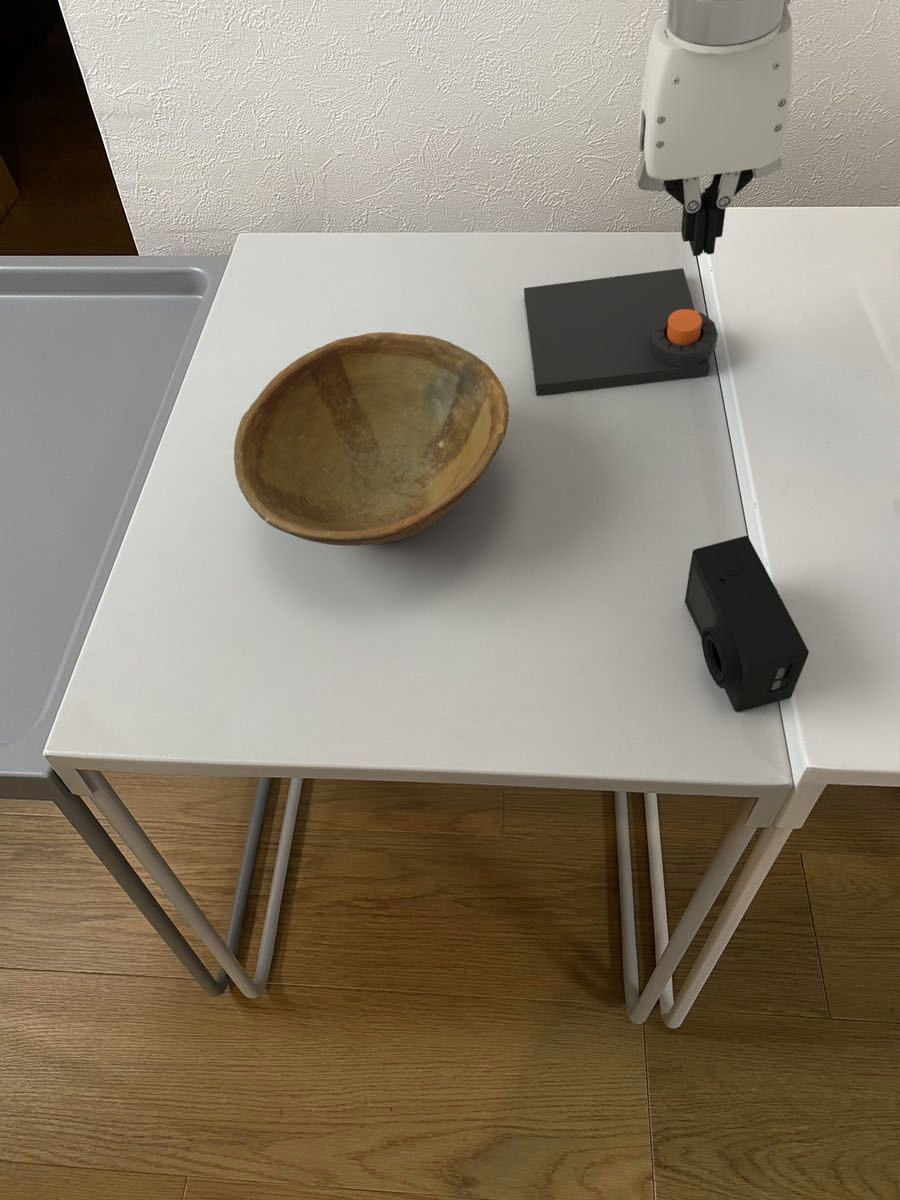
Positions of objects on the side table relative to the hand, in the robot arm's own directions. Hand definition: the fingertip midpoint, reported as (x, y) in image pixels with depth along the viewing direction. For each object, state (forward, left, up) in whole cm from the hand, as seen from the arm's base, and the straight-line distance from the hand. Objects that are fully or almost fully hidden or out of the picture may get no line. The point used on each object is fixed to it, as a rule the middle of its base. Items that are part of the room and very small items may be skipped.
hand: (700, 244), depth 76 cm
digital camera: (+2, +30, -14) cm, 33 cm away
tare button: (0, -2, -11) cm, 11 cm away
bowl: (+28, +12, -14) cm, 34 cm away
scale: (+6, -6, -14) cm, 16 cm away
